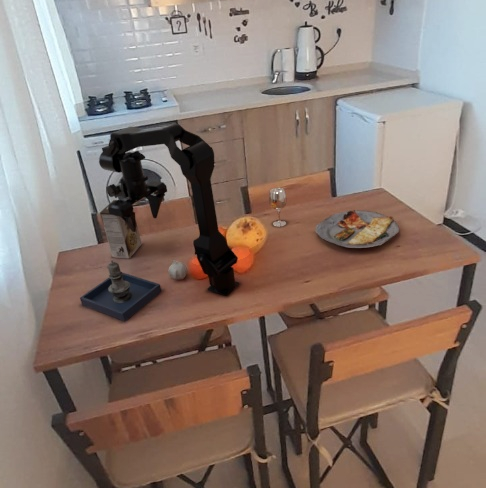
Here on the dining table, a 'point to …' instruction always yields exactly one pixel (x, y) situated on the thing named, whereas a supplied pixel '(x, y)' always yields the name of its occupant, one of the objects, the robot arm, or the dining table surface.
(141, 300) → the tray
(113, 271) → the grey tall tiered piece
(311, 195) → the dining table surface
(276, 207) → the wineglass
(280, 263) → the dining table surface
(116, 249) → the coffee box
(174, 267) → the garlic
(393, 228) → the food plate
